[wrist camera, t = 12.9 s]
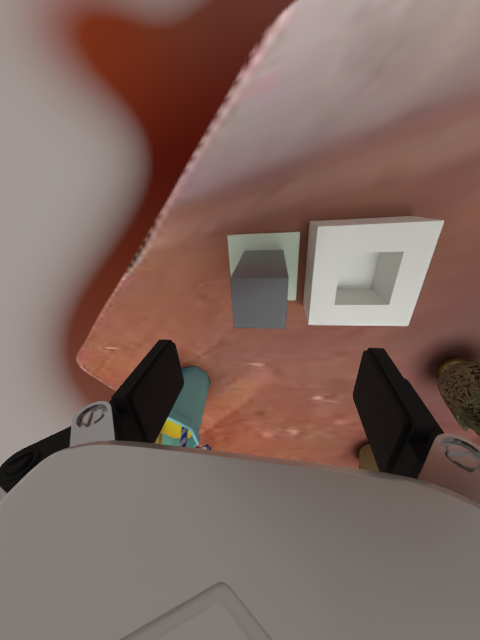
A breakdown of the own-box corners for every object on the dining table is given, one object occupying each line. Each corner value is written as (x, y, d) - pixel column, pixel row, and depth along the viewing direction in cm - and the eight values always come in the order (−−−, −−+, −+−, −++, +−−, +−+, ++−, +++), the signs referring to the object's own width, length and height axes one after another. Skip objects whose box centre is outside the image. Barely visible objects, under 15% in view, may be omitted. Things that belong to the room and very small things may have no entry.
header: (411, 215, 23) (444, 220, 18) (386, 305, 28) (408, 326, 23) (309, 221, 24) (317, 226, 20) (302, 305, 29) (308, 324, 25)
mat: (299, 231, 25) (300, 232, 24) (295, 298, 29) (295, 300, 28) (228, 234, 26) (227, 235, 25) (233, 298, 30) (232, 300, 29)
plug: (283, 249, 25) (288, 277, 17) (281, 286, 27) (285, 328, 19) (244, 250, 26) (230, 278, 17) (245, 286, 28) (233, 327, 19)
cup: (216, 342, 33) (180, 435, 20) (245, 376, 36) (230, 479, 23) (153, 376, 39) (93, 467, 26) (183, 404, 41) (142, 500, 28)
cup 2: (406, 373, 32) (443, 423, 25) (449, 334, 28) (506, 379, 21) (450, 392, 33) (498, 446, 26) (498, 356, 29) (569, 407, 22)
